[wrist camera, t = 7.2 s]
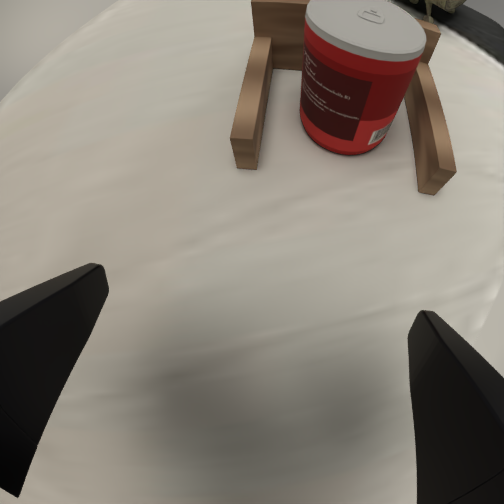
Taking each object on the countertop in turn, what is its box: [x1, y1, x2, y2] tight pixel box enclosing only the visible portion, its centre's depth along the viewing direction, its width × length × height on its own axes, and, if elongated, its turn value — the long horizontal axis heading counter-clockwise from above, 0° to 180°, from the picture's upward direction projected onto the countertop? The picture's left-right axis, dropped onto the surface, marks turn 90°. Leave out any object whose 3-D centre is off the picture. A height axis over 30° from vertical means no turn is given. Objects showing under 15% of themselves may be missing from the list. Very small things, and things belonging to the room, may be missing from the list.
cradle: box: [230, 0, 457, 195], centre depth 20 cm, size 14×16×8 cm
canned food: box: [300, 0, 426, 155], centre depth 18 cm, size 8×8×11 cm
